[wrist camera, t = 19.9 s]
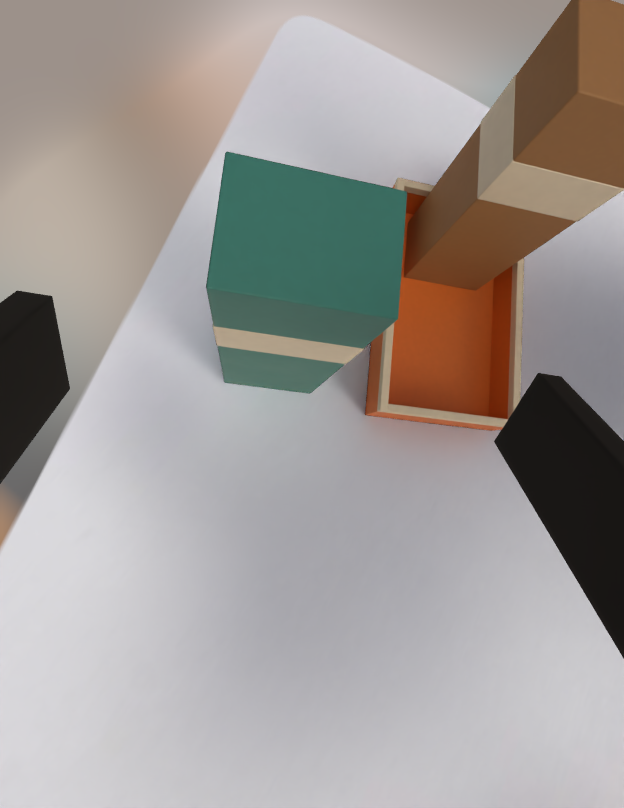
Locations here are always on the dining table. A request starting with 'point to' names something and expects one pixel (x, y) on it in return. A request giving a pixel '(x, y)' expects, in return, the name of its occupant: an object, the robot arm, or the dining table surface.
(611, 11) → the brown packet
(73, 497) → the dining table surface
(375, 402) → the orange tray
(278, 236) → the teal packet
